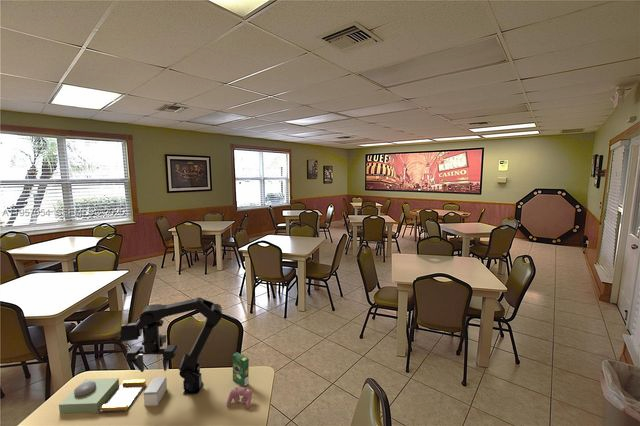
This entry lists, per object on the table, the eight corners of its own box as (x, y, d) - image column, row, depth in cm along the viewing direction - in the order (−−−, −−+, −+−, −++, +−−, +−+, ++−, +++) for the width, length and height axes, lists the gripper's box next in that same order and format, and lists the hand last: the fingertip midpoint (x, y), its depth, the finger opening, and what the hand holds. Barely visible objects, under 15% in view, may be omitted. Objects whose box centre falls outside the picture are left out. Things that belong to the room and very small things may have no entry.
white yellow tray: (145, 384, 129) (145, 379, 129) (125, 412, 114) (125, 406, 114) (122, 385, 128) (121, 380, 128) (99, 413, 113) (98, 407, 113)
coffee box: (249, 384, 131) (249, 357, 129) (244, 388, 128) (244, 360, 126) (237, 377, 135) (236, 351, 133) (232, 380, 133) (231, 354, 131)
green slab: (119, 386, 128) (118, 375, 127) (97, 412, 114) (96, 399, 113) (85, 387, 126) (84, 376, 126) (59, 413, 113) (58, 401, 112)
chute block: (166, 389, 127) (166, 376, 126) (157, 405, 118) (156, 392, 117) (155, 389, 126) (154, 377, 126) (144, 405, 117) (143, 392, 117)
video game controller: (252, 406, 120) (254, 387, 122) (248, 409, 116) (251, 390, 118) (229, 404, 121) (231, 385, 123) (225, 407, 117) (227, 387, 119)
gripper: (182, 325, 127) (184, 357, 129) (138, 326, 126) (141, 359, 128) (171, 339, 116) (174, 375, 118) (123, 341, 115) (126, 377, 117)
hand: (154, 371), depth 121 cm, fingers open, 9 cm apart
